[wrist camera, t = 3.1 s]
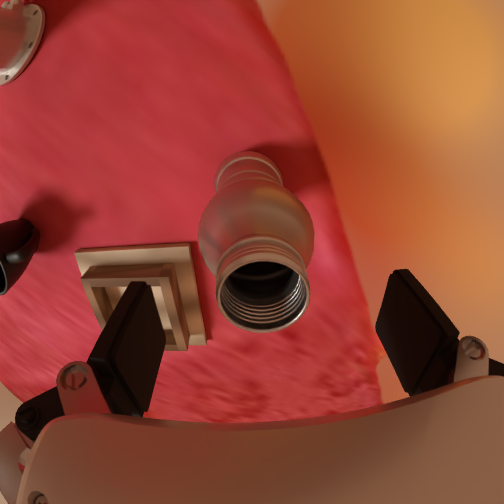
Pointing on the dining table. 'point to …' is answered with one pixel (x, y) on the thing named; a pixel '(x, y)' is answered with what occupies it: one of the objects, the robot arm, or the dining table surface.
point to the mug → (16, 250)
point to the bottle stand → (154, 274)
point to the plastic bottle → (257, 244)
